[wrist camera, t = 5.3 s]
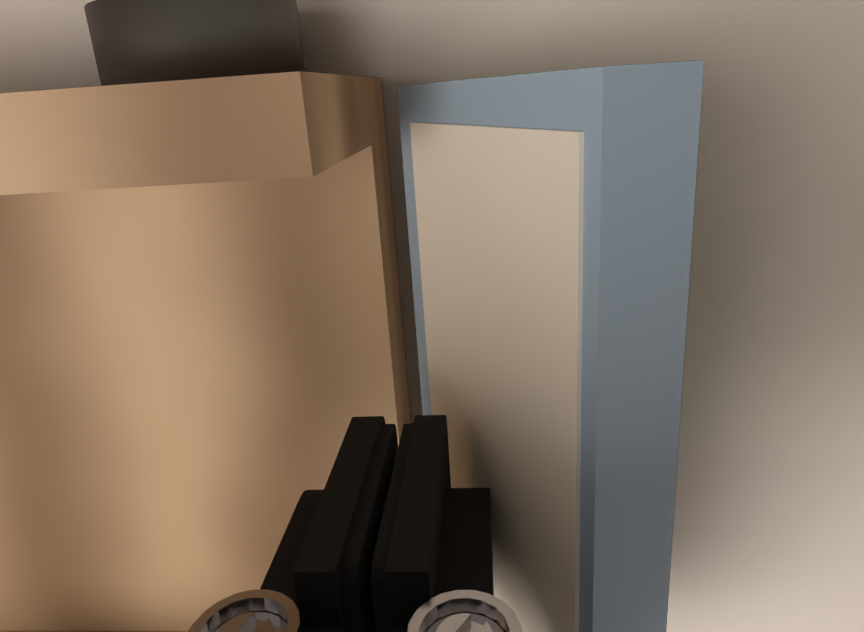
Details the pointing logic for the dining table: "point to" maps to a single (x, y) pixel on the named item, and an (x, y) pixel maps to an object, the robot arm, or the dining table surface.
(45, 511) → the truck bed
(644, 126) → the panel
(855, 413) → the dining table surface
